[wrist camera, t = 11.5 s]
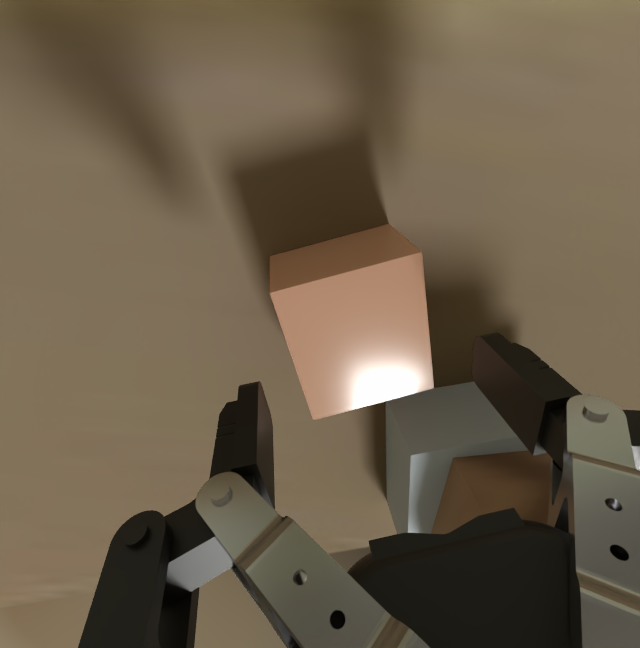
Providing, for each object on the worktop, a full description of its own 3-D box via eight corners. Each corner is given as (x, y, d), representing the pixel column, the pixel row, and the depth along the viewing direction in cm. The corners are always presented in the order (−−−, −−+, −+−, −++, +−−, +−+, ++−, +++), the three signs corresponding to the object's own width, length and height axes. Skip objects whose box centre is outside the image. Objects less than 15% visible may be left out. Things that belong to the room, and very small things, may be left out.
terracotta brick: (387, 222, 17) (421, 251, 13) (403, 338, 21) (434, 388, 17) (269, 254, 17) (269, 292, 13) (305, 365, 21) (313, 420, 17)
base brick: (516, 370, 23) (572, 426, 19) (492, 477, 29) (532, 539, 25) (384, 392, 23) (410, 455, 19) (385, 497, 28) (406, 563, 24)
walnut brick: (554, 447, 20) (633, 538, 15) (509, 539, 24) (562, 629, 20) (452, 457, 19) (506, 554, 15) (426, 550, 24) (461, 646, 19)
